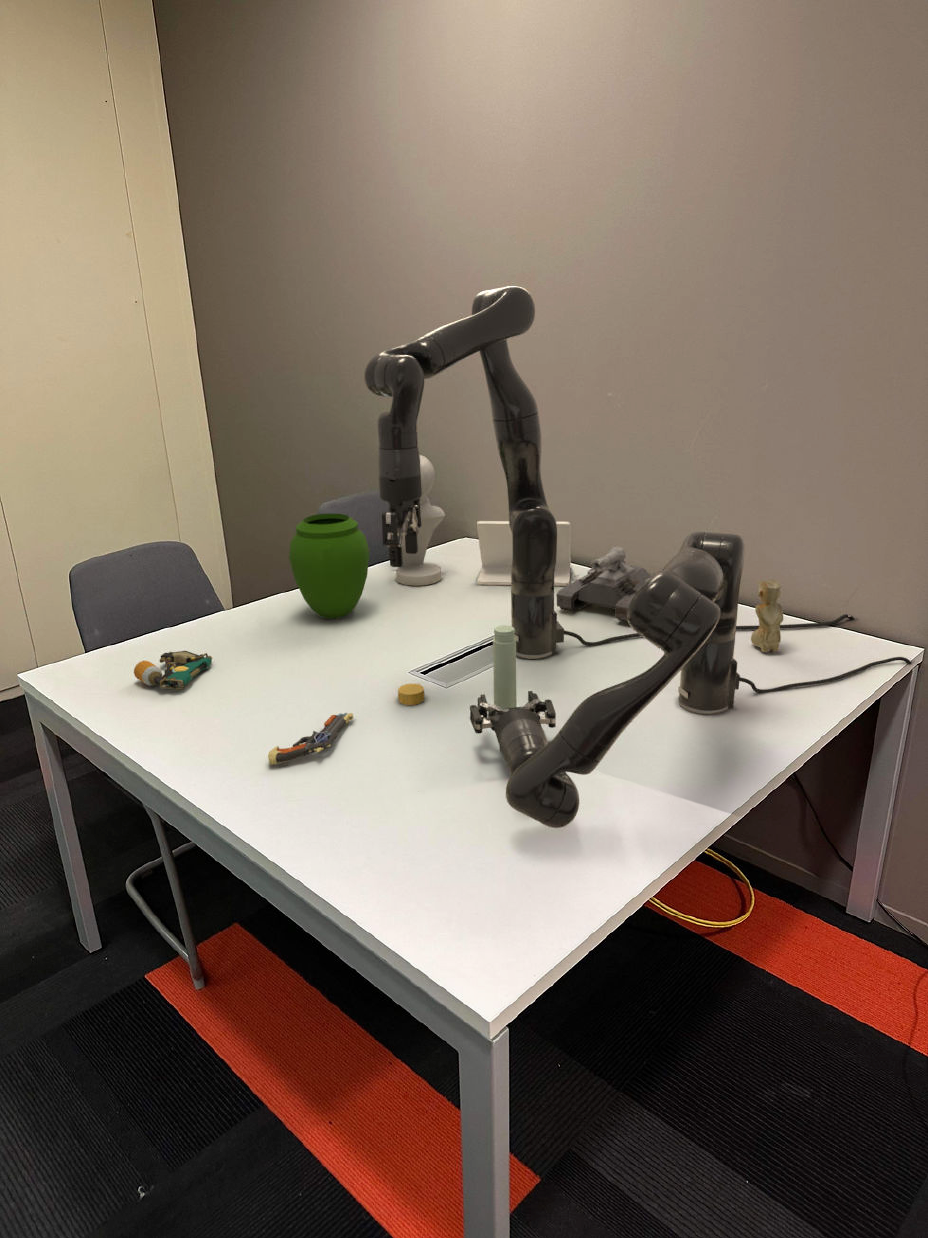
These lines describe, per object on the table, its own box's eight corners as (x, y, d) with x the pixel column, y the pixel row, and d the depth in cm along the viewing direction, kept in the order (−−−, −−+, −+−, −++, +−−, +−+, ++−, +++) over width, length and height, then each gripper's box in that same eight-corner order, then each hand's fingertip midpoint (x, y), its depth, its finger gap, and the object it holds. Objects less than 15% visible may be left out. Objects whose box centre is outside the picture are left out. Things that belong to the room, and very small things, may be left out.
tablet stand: (569, 585, 229) (570, 524, 223) (476, 584, 232) (475, 523, 226) (570, 566, 246) (571, 508, 240) (484, 564, 249) (483, 507, 243)
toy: (603, 584, 229) (605, 530, 224) (673, 597, 218) (677, 540, 213) (555, 612, 210) (556, 553, 205) (630, 627, 199) (633, 566, 194)
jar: (513, 713, 160) (512, 623, 154) (519, 723, 157) (518, 631, 150) (492, 716, 160) (490, 625, 153) (497, 726, 156) (496, 633, 149)
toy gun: (262, 754, 143) (318, 752, 141) (303, 710, 161) (353, 708, 159) (266, 769, 144) (321, 767, 142) (306, 724, 162) (356, 721, 160)
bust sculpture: (418, 559, 256) (413, 441, 244) (456, 580, 236) (452, 453, 224) (369, 568, 249) (360, 447, 237) (403, 590, 229) (396, 460, 217)
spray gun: (177, 659, 191) (231, 671, 185) (120, 684, 176) (176, 698, 171) (176, 641, 190) (230, 653, 184) (118, 665, 175) (174, 678, 169)
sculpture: (772, 641, 189) (778, 577, 184) (784, 654, 182) (792, 587, 177) (746, 642, 189) (752, 578, 183) (758, 655, 182) (764, 588, 177)
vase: (389, 608, 216) (383, 514, 208) (339, 633, 201) (330, 533, 192) (330, 596, 226) (322, 506, 218) (278, 619, 211) (267, 523, 202)
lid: (424, 693, 170) (423, 682, 169) (425, 704, 165) (424, 693, 164) (398, 694, 169) (397, 684, 169) (398, 706, 165) (397, 695, 164)
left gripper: (393, 464, 159) (398, 548, 164) (364, 479, 146) (371, 570, 152) (431, 465, 157) (435, 550, 162) (406, 480, 144) (411, 572, 150)
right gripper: (566, 716, 136) (545, 675, 151) (477, 723, 135) (465, 681, 150) (565, 757, 139) (545, 713, 154) (478, 765, 137) (467, 719, 153)
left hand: (404, 559), depth 157 cm, fingers open, 8 cm apart
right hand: (506, 697), depth 152 cm, fingers open, 8 cm apart
